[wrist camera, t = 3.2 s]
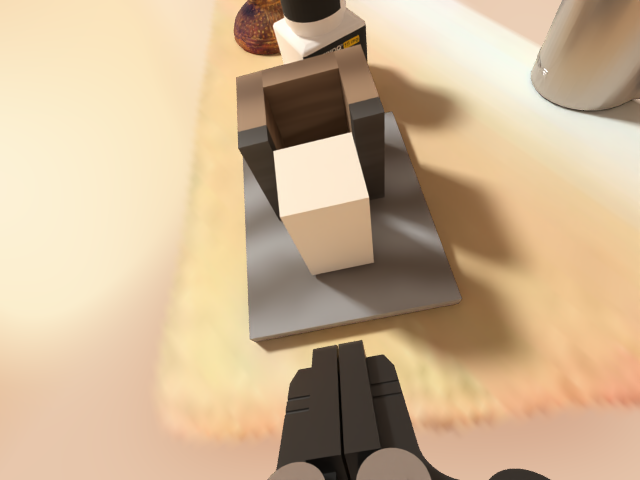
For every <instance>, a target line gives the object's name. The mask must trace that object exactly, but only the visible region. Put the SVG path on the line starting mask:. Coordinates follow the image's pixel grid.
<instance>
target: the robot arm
mask: <svg viewBox="0 0 640 480" xmlns="http://www.w3.org/2000/svg"><path fill="white" fill-rule="evenodd" d="M531 81H532V84H533V86H534V87H535V89H536V90H537V92H539V93H540V94H541V95H542V96H543V97H544V98H546V99H548V100H549V101H551V102H553V103H556V104H558V105H560V106H564V107H568V108H572V109H578V110H603V109H610V108H613V107H616V106H620V105H622V104H624V103H625V102H627V101H630V100H632V99H640V0H562V2H561V5H560V7H559V9H558V11H557V13H556V16H555V18H554V20H553V23H552V25H551V27H550V30H549V32H548V34H547V36H546V39H545V41H544V43H543V45H542V47H541V49H540V51H539V53H538V56H537V59H536V62H535V64H534V67H533V69H532V71H531ZM268 480H458V479H454V478H451V477H449V476H446V475H444V474H443V473H441V472H439V471H438V470H436V469H435V468H434V467H432V465H431V464H429V463H428V461H427V460H426V459H425V458H424V456H423V455H422V453H421V451H420V449H419V446H418V444H417V440H416V437H415V433H414V430H413V427H412V423H411V420H410V417H409V413H408V410H407V407H406V403H405V400H404V397H403V394H402V390H401V387H400V383H399V380H398V377H397V373H396V370H395V367H394V365H393V364H392V363H391V362H390V361H389V360H388V359H387V358H386V357H385V356H384V355H377V356H372V357H366V355H365V350H364V346H363V342H362V340H360V341H355V342H349V343H344V344H339V349H338V346H337V345H334V346H328V347H323V348H317V349H313V357H312V367H311V368H306V369H300V370H298V372H297V373H296V375H295V377H294V378H293V380H292V381H291V383H290V387H289V393H288V402H287V406H286V415H285V419H284V425H283V432H282V438H281V445H280V451H279V458H278V464H277V469H276V471H275V472H274V473H273V474H272V475H271V476H270V477H269V478H268ZM489 480H550V479H548V478H546V477H544V476H543V475H540V474H538V473H535V472H532V471H529V470H524V469H507V470H503V471H500V472H498V473H496V474H495V475H494V476H492V477H491V478H490V479H489Z"/></svg>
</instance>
